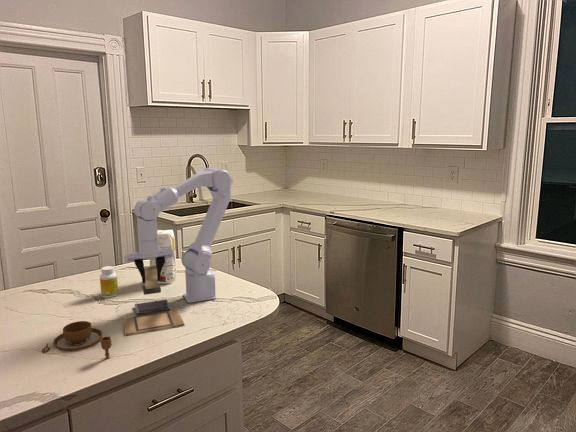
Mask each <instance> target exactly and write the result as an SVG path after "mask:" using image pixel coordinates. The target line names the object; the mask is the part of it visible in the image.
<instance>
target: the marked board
mask: <svg viewBox="0 0 576 432" xmlns="http://www.w3.org/2000/svg"><path fill="white" fill-rule="evenodd" d="M122 320H123V325H124V332H125V337H127V336H132V335H140V334H145V333H149V332H155V331H162V330H166V329H167V330H168V329H173V328H178V327H185V322H184V320H183V318H182V316H181V313H180V311H179V309H172V310H171V311H165V312H159V313H152V314H146V315H140V316H137V315H134V316H129V317H127V316H126V317H123V318H122Z"/></svg>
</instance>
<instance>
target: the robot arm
mask: <svg viewBox="0 0 576 432" xmlns="http://www.w3.org/2000/svg"><path fill="white" fill-rule="evenodd" d="M232 184H233V179H232V176H231V174H230V173H229V171H228V170H227V169H223V168H214V167H209V166H208V167H206V168H203V169H202V170H199V171H198V172H197V173H195V174H194V175H192V176H191V177H188V178H187V179H186V180H184V181H182V182H181V183H179V184H177V185H176V186H175V187H172V186H171V187H170V186H166V187H165V186H162V187H161V188H159V189H160V191H158V192H156V193H153V194H151V195H150V194H149V195H148V196H146V199H145V198H144V199H139V200H138V201H137V202H135V204H134V206H133V207H134V208H132V211H133V214H134V215H135V216H136V221H137V224H136V228H137V240H138V241H137V242H138V252H133V253H127V254H123V260H124V263H130V262H134V266H135V267H136V269H137V270H138V272H139V274H140V276H141V281H142V284H145V276H144V267H145V264H144V260H150V259H155V261H156V268H157V279H158V281H160V274H161V270H162V268H163V265H164V263H165V257H174V251H173V250H159V249H158V233H157V230H158V221H157V218H158V217H159V216H160V213H162V212H164V211H165V210H167V209H169V208H170V207H172V206H174V205H176V204H177V203H178V202H179V199H180V197H182V196H185V195H186V194H188V193H190V192H193V191H195V190H196V189H198V188H200V187H206V188H207V190H208V191H209V192H210V194H211V197H212V200H211V202H210V205H209V207H208V209H207V212H206V214H205V217H204V218H203V222H202V223H201V226H200V228H199V231H198V234H197V236H196V238H195V241H193V242H192V243H191V244H189V245H188V248H187V249H186V251H184V253H182V256H181V264H182V266H183V267H184V268H185V269H184V270H185V271H184V272H185V273H184V274H185V293H183V296H184V298H185V300H186V302H187V303H189V304H191V303H196V302H203V301H204V302H205V301H209V300H215V299H217V296H216V278H215V272H214V270H212V269H211V263H212V261H211V260H212V256H213V252H212V248H211V247H212V244H213V242H214V241H215V240H214V239H215V237H216V235H217V232H218V229H219V227H220V224H221V223H222V221H223V218H224V215H225V213H226V210H227V209H228V206H229V203H230V201H231V196H232V195H231V186H232Z"/></svg>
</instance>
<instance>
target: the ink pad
mask: <svg viewBox="0 0 576 432" xmlns="http://www.w3.org/2000/svg"><path fill="white" fill-rule="evenodd" d="M134 309H135V313H136V316H140V315H146V314H152V313H159V312H165V311H172V310H171V305H170V303H169V301H168V299H160V300H154V301H146V302H140V303H134Z"/></svg>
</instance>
